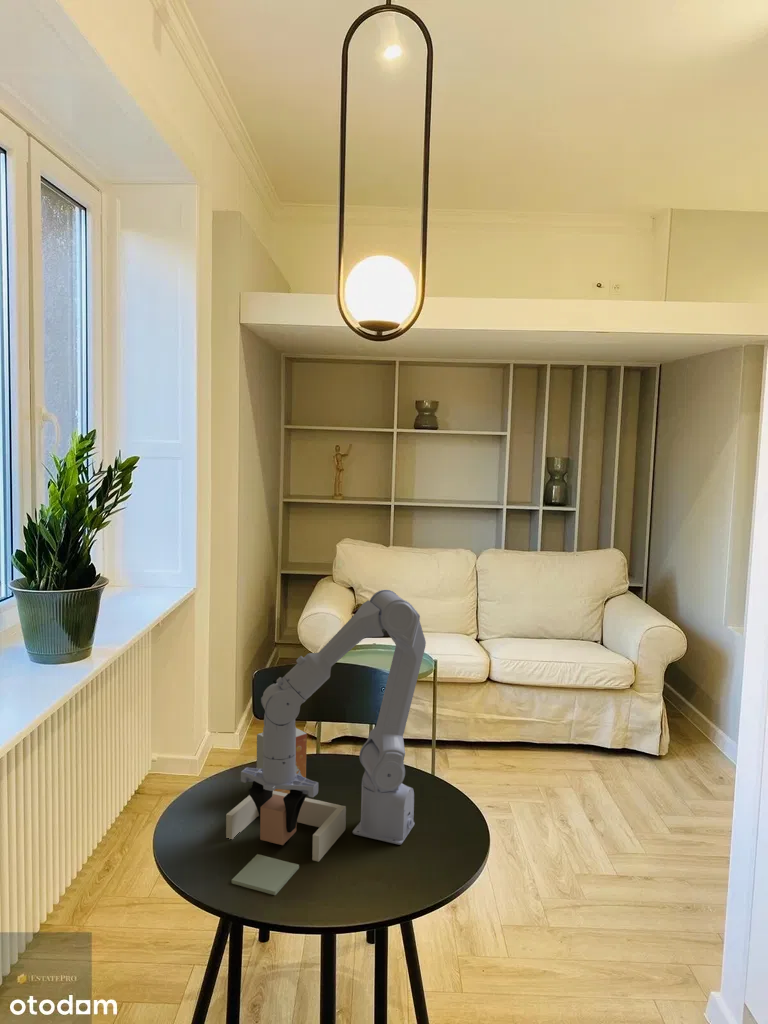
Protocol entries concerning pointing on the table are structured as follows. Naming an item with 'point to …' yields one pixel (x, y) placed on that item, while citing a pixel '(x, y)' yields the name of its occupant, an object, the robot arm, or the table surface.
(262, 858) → the mat
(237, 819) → the u-shaped wall
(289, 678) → the robot arm
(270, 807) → the block
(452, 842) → the table surface
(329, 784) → the table surface
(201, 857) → the table surface
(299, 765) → the small box
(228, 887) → the table surface
